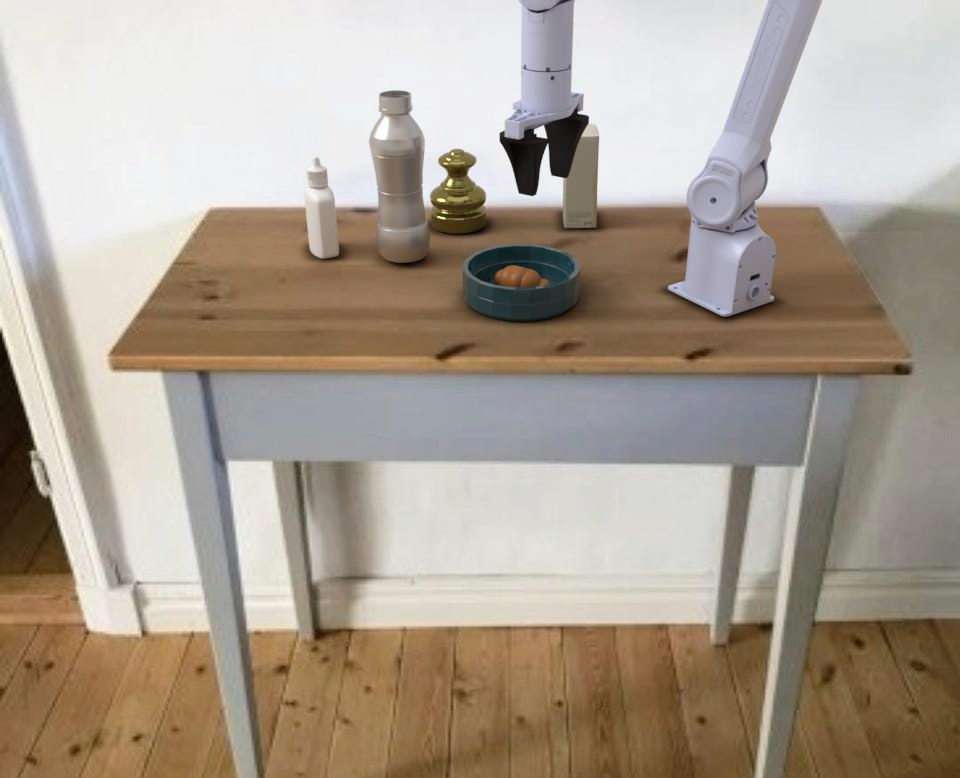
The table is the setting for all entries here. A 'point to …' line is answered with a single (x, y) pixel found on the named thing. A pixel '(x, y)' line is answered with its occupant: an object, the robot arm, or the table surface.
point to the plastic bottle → (399, 180)
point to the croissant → (519, 277)
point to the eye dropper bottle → (320, 213)
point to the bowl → (521, 300)
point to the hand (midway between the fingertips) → (543, 185)
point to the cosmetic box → (582, 183)
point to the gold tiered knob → (458, 196)
